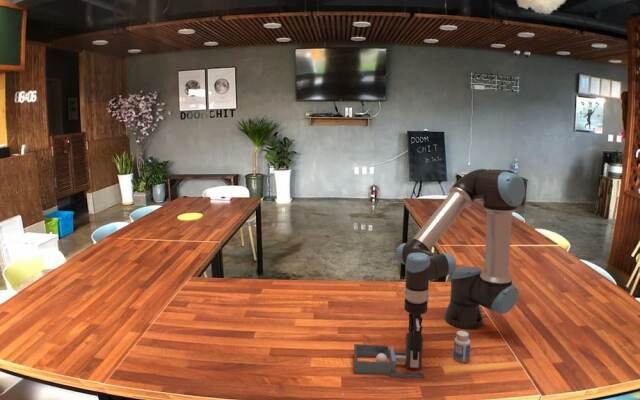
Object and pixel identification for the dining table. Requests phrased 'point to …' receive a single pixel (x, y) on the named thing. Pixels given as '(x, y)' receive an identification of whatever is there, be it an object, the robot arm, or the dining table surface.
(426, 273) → the robot arm
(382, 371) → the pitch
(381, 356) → the ball
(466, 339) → the pill bottle
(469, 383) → the dining table surface
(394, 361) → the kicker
